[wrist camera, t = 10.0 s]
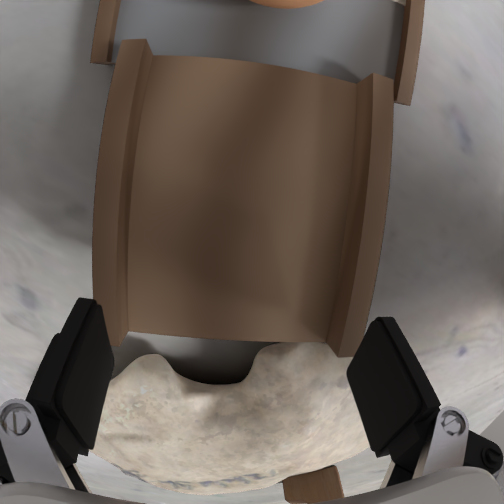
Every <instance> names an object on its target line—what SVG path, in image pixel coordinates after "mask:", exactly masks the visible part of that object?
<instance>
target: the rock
mask: <svg viewBox="0 0 504 504" xmlns="http://www.w3.org/2000/svg"><path fill="white" fill-rule="evenodd" d="M352 359H353V357H344V358H338V357H337V356H336V355H335V353H334V352H333V351H332V349H331V348H330V347H329V345H328V344H324V343H320V342H280V343H276V344H272V345H269V346H266V347H264V348H262V349H261V350H260V351H259V352H258V353H257V355H256V357H255V359H254V362H253V365H252V368H251V370H250V372H249V374H248V375H247V377H246V378H245V379H244V380H243V381H242V382H240V383H235V384H228V385H211V384H204V383H200V382H196V381H193V380H190V379H187V378H185V377H183V376H181V375H179V374H178V373H176V372H175V371H174V370H173V369H172V367H171V366H170V364H169V363H168V362H167V360H166V359H165V358H164V357H162V356H161V355H159V354H148V355H144V356H141V357H139V358H137V359H135V360H134V361H133V362H132V363H130V364H129V365H128V366H127V367H126V368H125V369H124V370H123V371H122V372H121V373H120V374H119V375H118V376H116V377H115V378H113V379H112V380H111V381H110V382H109V386H108V390H107V394H106V398H105V402H104V406H103V410H102V414H101V419H100V423H99V428H98V432H97V437H96V442H95V446H94V449H93V450H90V449H89V451H90V452H92V453H94V454H95V455H97V456H99V457H101V458H103V459H105V460H106V461H108V462H110V463H111V464H113V465H114V466H116V467H117V468H119V469H120V470H121V471H122V472H123V473H125V474H126V475H129V476H133V477H136V478H138V479H139V480H142V481H144V482H147V483H149V484H152V485H155V486H157V487H160V488H164V489H168V490H172V491H176V492H181V493H187V494H196V495H214V494H224V493H236V492H243V491H248V490H255V489H262V488H266V487H269V486H271V485H273V484H276V483H278V482H280V481H282V480H284V479H285V478H287V477H289V476H292V475H297V474H301V473H307V472H312V471H316V470H318V469H322V468H324V467H327V466H329V465H332V464H334V463H336V462H339V461H342V460H346V459H348V458H351V457H353V456H355V455H357V454H359V453H360V452H362V451H363V450H365V449H366V448H368V447H370V445H369V442H368V439H367V436H366V433H365V429H364V426H363V423H362V420H361V417H360V414H359V411H358V408H357V405H356V403H355V400H354V397H353V394H352V391H351V388H350V385H349V382H348V379H347V375H346V372H347V368H348V366H349V364H350V363H351V361H352Z"/></svg>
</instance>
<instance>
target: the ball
mask: <svg viewBox="0 0 504 504" xmlns="http://www.w3.org/2000/svg"><path fill="white" fill-rule="evenodd" d="M250 1H252V2H255V3H257V4H260V5H263V6H268V7H273V8H282V9H292V8H302V7H307V6H311V5H314V4H317V3H320V2H322V1H324V0H250Z"/></svg>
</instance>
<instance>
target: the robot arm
mask: <svg viewBox="0 0 504 504" xmlns="http://www.w3.org/2000/svg"><path fill="white" fill-rule="evenodd" d="M113 367H114V357H113V353H112V349H111V345H110V341H109V337H108V333H107V328H106V324H105V319H104V314H103V309H102V306H101V305H98V304H97V301H96V300H94V299H87V298H78V300H77V301H76V303H75V305H74V307H73V309H72V311H71V313H70V315H69V317H68V318H67V320H66V322H65V324H64V326H63V328H62V331H61V333H57V334H56V335H55V336H54V337H53V339H52V341H51V343H50V345H49V347H48V349H47V351H46V353H45V355H44V358H43V360H42V362H41V364H40V366H39V369H38V371H37V373H36V376H35V378H34V380H33V383H32V385H31V388H30V390H29V392H28V395H27V397H26V400H23V399H11V400H8V401H6V402H4V403H3V404H2V405H1V406H0V504H145V503H138V502H132V501H126V500H120V499H115V498H110V497H105V496H100V495H96V494H92V492H91V491H90V489H89V487H88V486H87V484H86V482H85V481H84V479H83V477H82V475H81V474H80V472H79V470H78V468H77V466H76V464H75V463H76V462H77V457H78V454H81V455H84V456H88V452H89V449H90V450H93V449H94V446H95V442H96V437H97V432H98V428H99V423H100V419H101V414H102V410H103V406H104V402H105V398H106V394H107V390H108V386H109V382H110V379H111V375H112V371H113ZM346 375H347V379H348V382H349V385H350V388H351V391H352V394H353V397H354V400H355V403H356V405H357V408H358V411H359V414H360V417H361V420H362V423H363V426H364V429H365V433H366V436H367V439H368V442H369V445H370V448H371V450H372V451H374V452H375V454H376V457H377V458H378V457H382V456H386V455H389V454H390V456H391V459H392V460H391V463H390V465H389V468H388V470H387V473H386V475H385V477H384V480H383V482H382V484H381V487H380V489H378V490H375V491H371V492H367V493H363V494H359V495H354V496H350V497H345V498H340V499H335V500H329V501H324V502H318V503H311V504H504V461H503V454H502V451H501V449H500V448H499V446H498V445H497V444H495V443H494V442H492V441H490V440H487V439H486V438H484V437H482V436H480V435H478V434H476V433H474V432H472V431H470V430H469V423H468V420H467V418H466V416H465V414H464V413H463V412H462V411H461V410H459V409H457V408H455V407H452V406H449V407H445V408H442V409H441V410H440V409H439V406H440V405H441V403H440V401H439V399H438V397H437V395H436V393H435V392H434V390H433V388H432V386H431V384H430V382H429V380H428V378H427V376H426V374H425V372H424V370H423V369H422V367H421V365H420V363H419V361H418V359H417V358H416V356H415V354H414V352H413V350H412V349H411V347H410V345H409V343H408V342H407V340H406V338H405V336H404V335H403V333H402V331H401V329H400V328H399V326H398V324H397V323H396V321H395V319H394V318H393V317H377V318H376V319H375V320H374V321H372V322H371V324H370V326H369V328H368V330H367V332H366V334H365V336H364V338H363V340H362V342H361V344H360V346H359V347H358V349H357V351H356V353H355V355H354V357H353V359H352V361H351V363H350V364H349V366H348V368H347V372H346Z"/></svg>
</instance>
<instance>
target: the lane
mask: <svg viewBox="0 0 504 504" xmlns="http://www.w3.org/2000/svg"><path fill="white" fill-rule="evenodd" d="M424 5H425V0H324V1H322V2H320V3H317V4H314V5H311V6H307V7H302V8H292V9H282V8H273V7H268V6H263V5H260V4H257V3H255V2H252V1H250V0H100V4H99V9H98V14H97V19H96V25H95V31H94V38H93V45H92V52H91V61H90V63H96V64H105V65H109V64H115V68H114V72H113V77H112V81H111V86H110V90H109V95H108V100H107V105H106V110H105V116H104V122H103V128H102V134H101V141H100V149H99V156H98V165H97V174H96V185H95V197H94V213H93V240H92V277H93V299H94V300H96V301H97V304H98V305H101V306H102V309H103V314H104V319H105V324H106V328H107V333H108V337H109V341H110V345H111V346H117V347H119V346H120V345H121V343H122V341H123V339H124V338H125V336H126V334H127V332H128V331H133V332H141V333H150V334H159V335H169V336H180V337H191V338H205V339H219V340H237V341H262V342H326V343H327V344H328V345H329V347H330V348H331V349H332V351H333V352H334V353H335V355H336V356H337V357H338V358H344V357H354V355H355V353H356V351H357V349H358V347H359V346H360V344H361V342H362V340H363V336H364V332H365V328H366V324H367V320H368V315H369V311H370V306H371V301H372V297H373V292H374V287H375V281H376V276H377V271H378V265H379V259H380V253H381V247H382V240H383V233H384V226H385V219H386V211H387V202H388V193H389V182H390V171H391V157H392V139H393V103H398V104H403V105H408V106H410V104H411V99H412V94H413V88H414V83H415V77H416V71H417V65H418V58H419V51H420V43H421V35H422V27H423V17H424Z"/></svg>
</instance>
